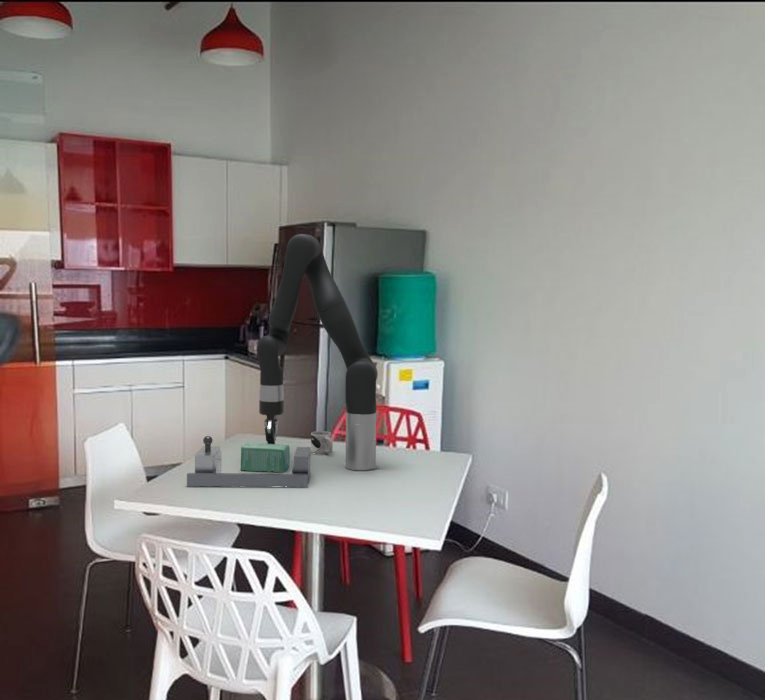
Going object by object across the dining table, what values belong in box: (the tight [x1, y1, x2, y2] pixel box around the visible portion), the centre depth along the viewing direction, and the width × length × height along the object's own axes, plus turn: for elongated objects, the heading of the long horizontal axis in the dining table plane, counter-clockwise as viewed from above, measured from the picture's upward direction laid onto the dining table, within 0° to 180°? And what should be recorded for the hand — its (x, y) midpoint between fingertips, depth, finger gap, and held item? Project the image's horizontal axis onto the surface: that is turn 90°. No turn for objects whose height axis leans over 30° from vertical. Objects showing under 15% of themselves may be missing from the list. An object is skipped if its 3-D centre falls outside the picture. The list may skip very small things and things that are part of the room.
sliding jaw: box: [194, 435, 223, 473], centre depth 209 cm, size 6×12×12 cm, turn 3°
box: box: [240, 442, 291, 473], centre depth 221 cm, size 7×14×8 cm, turn 84°
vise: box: [186, 446, 312, 488], centre depth 208 cm, size 33×15×8 cm, turn 93°
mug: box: [310, 430, 333, 455], centre depth 242 cm, size 10×7×7 cm
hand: (271, 453), depth 228 cm, fingers closed
